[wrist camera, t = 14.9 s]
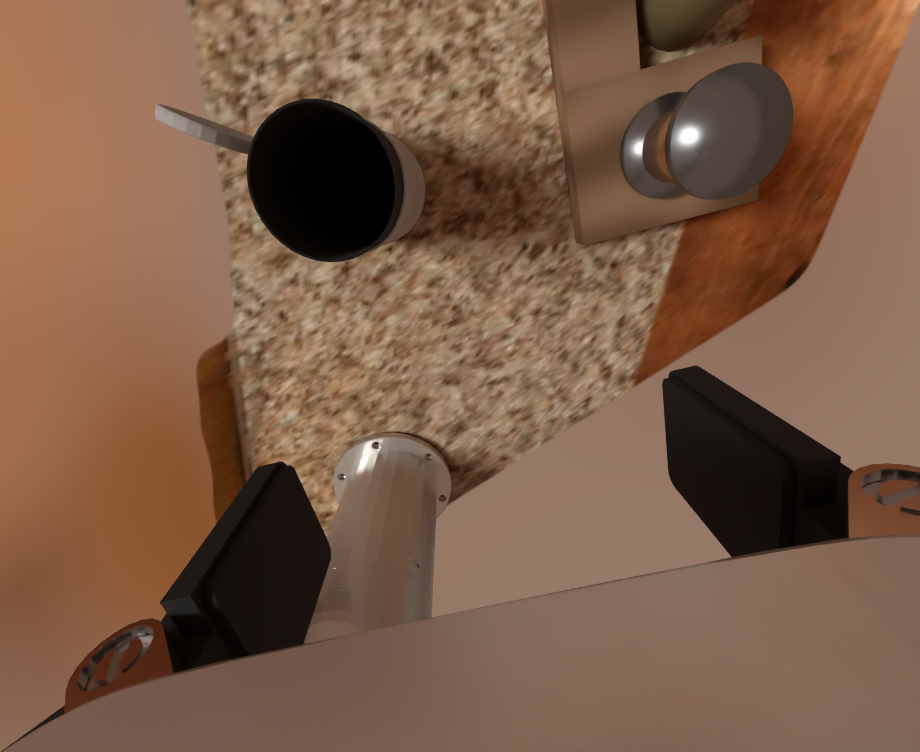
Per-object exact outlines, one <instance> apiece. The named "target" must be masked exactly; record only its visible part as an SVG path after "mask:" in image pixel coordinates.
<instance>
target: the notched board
mask: <svg viewBox="0 0 920 752" xmlns="http://www.w3.org/2000/svg"><path fill="white" fill-rule="evenodd" d="M542 2H543V10H544V17H545V24H546V31H547V38H548V45H549V53H550V60H551V67H552V74H553V81H554V89H555V96H556V103H557V110H558V117H559V124H560V132H561V139H562V146H563V153H564V160H565V168H566V175H567V182H568V189H569V196H570V203H571V211H572V218H573V225H574V232H575V239H576V243H579V244H582V245H588V244H592V243H596V242H600V241H604V240H607V239H611V238H615V237H619V236H623V235H627V234H630V233H634V232H638V231H642V230H646V229H650V228H653V227H657V226H661V225H665V224H669V223H673V222H676V221H680V220H684V219H688V218H692V217H696V216H699V215H703V214H707V213H711V212H715V211H719V210H722V209H726V208H730V207H734V206H738V205H742V204H745V203H749V202H753V201H757V200H759V184H757V185H756V186H755V187H753V188H752V189H750V190H749V191H747V192H745V193H743V194H741V195H738V196H735V197H732V198H728V199H720V200H708V199H700V198H696V197H693V196H691V195H689V194H687V193H686V192H685V193H683V194H681V195H679V196H676V197H672V198H665V199H656V198H649V197H645V196H643V195H641V194H639V193H637V192H636V191H635V190H634V189H632V188H631V186H630V185H629V184H628V183H627V181H626V179H625V177H624V175H623V172H622V169H621V164H620V147H621V142H622V139H623V136H624V133H625V131H626V128H627V126H628V125H629V123H630V121H631V120H632V118H633V117H634V116H635V114H636V113H637V112H638V111H639V110H640V109H641V108H642V107H644V106H645V105H646V104H648V103H649V102H650V101H652V100H654V99H656V98H658V97H660V96H663V95H665V94H668V93H673V92H687V91H688V90H689V89H690V88H691V87H692V86H693V85H694V84H696V83H697V82H698V81H699V80H701V79H702V78H704V77H705V76H706V75H708V74H710V73H712V72H714V71H716V70H718V69H721V68H723V67H725V66H728V65H731V64H736V63H742V62H751V63H758V64H761V65H762V40H763V34H762V35H758V36H755V37H751V38H748V39H744V40H741V41H738V42H734V43H731V44H727V45H724V46H720V47H717V48H713V49H710V50H706V51H703V52H700V53H696V54H693V55H689V56H686V57H682V58H679V59H675V60H672V61H668V62H665V63H661V64H658V65H655V66H651V67H648V68H644V69H641V70H640V58H639V43H638V29H637V15H636V1H635V0H542Z"/></svg>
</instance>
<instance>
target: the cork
mask: <svg viewBox="0 0 920 752" xmlns="http://www.w3.org/2000/svg"><path fill="white" fill-rule="evenodd" d="M737 1H738V0H636V15H637V24H638V28H639V31H640V33H641V34H642V36H643V37H644V39H645V40H646V42H647V43H648V44H650V45H651V46H653V47H654V48H656V49H657V50H662V51H667V52H671V51H676V50H681V49H684V48H685V47H687V46H689V45H690V44H692V43H694V42H695V41H696V40H697V39H698V38H699V37H700V36H701V35H702V34H704V33H705V32H706V31H707V30H708V29H709V28H710V27H711V26H712V25H713V24H714V23H715V22H716V21H717V20H718V19H719V18H720V17H721V16H722V15H723V14H724V13H725V12H726V11H728V10H729V9H730V8H731V7H732V6H733V5H734V4H735V3H736V2H737Z"/></svg>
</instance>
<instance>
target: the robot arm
mask: <svg viewBox="0 0 920 752" xmlns="http://www.w3.org/2000/svg"><path fill="white" fill-rule="evenodd" d="M662 387H663V402H664V416H665V430H666V445H667V459H668V471H669V476H670V479H671V481H672V483H673V485H674V486H675V488H676V489H677V490H678V492H679V493H680V494H681V495H682V496H683V498H684V499H685V500H686V501H687V503H688V504H689V505H690V506H691V507H692V509H693V510H694V511H695V512H696V514H697V515H698V516H699V517H700V519H701V520H702V521H703V522H704V523H705V525H706V526H707V527H708V528H709V530H710V531H711V532H712V533H713V534H714V536H715V537H716V538H717V539H718V541H719V542H720V543H721V544H722V546H723V547H724V548H725V549H726V551H727V552H728V553H729V554H730V556H731V558H726V559H721V560H716V561H711V562H706V563H701V564H696V565H691V566H686V567H681V568H676V569H671V570H666V571H661V572H655V573H650V574H645V575H640V576H635V577H630V578H625V579H620V580H616V581H610V582H605V583H600V584H596V585H590V586H585V587H580V588H575V589H570V590H565V591H560V592H555V593H550V594H546V595H540V596H536V597H530V598H525V599H520V600H515V601H510V602H505V603H500V604H495V605H491V606H486V607H481V608H476V609H471V610H467V611H461V612H457V613H452V614H447V615H442V616H437V617H432V595H433V594H432V593H433V572H434V548H435V547H434V546H435V523H436V518H437V517H438V516H439V515H440V514H441V513H442V512H443V511H444V509H445V507H446V506H447V504H448V502H449V498H450V495H451V474H450V471H449V467H448V465H447V463H446V461H445V460H444V458H443V457H442V455H441V454H440V453H439V452H438V451H437V450H436V449H435V448H434V447H432V446H431V445H430V444H428V443H427V442H425V441H423V440H421V439H419V438H417V437H414V436H410V435H407V434H401V433H380V434H375V435H371V436H368V437H366V438H363V439H361V440H359V441H358V442H356V443H355V444H353V445H352V446H351V447H350V448H349V449H348V450H346V451H345V453H344V454H343V456H342V457H341V459H340V460H339V463H338V465H337V467H336V470H335V473H334V491H335V496H336V498H337V500H338V502H339V506H338V509H337V512H336V515H335V517H334V520H333V523H332V526H331V529H330V531H329V534H328V537H327V538H326V536H325V534H324V531H323V529H322V527H321V525H320V523H319V521H318V519H317V516H316V514H315V512H314V510H313V508H312V506H311V503H310V501H309V499H308V497H307V495H306V493H305V491H304V488H303V486H302V484H301V482H300V480H299V478H298V475H297V473H296V471H295V469H294V468H293V467H292V466H290V465H289V466H287V465H286V464H285V463H284V462H277V463H273V464H268V465H264V466H260V467H258V468H257V469H256V470H255V471H254V473H253V474H252V476H251V477H250V478H249V480H248V481H247V482H246V484H245V485H244V487H243V488H242V489H241V491H240V492H239V494H238V495H237V496H236V498H235V499H234V500H233V502H232V503H231V505H230V506H229V507H228V509H227V510H226V512H225V513H224V514H223V516H222V517H221V519H220V520H219V521H218V523H217V524H216V525H215V527H214V528H213V530H212V531H211V532H210V534H209V535H208V537H207V538H206V539H205V541H204V542H203V543H202V545H201V546H200V548H199V549H198V550H197V552H196V553H195V555H194V556H193V558H192V559H191V560H190V562H189V563H188V564H187V566H186V567H185V569H184V570H183V571H182V573H181V574H180V575H179V577H178V578H177V580H176V581H175V582H174V584H173V585H172V586H171V588H170V590H169V591H168V592H167V593H166V595H165V596H164V598H163V599H162V600H161V602H160V604H161V605H162V606H163V608H164V609H165V610H166V612H167V613H166V615H165V616H164V618H163V619H162V621H161V622H160V621H159V620H157V619H153V618H149V619H142V620H139V621H137V622H134V623H131V624H128V625H127V626H125V627H123V628H121V629H120V630H118V631H116V632H114V633H113V634H112V635H110V636H109V637H107V638H106V639H105V640H103V641H102V642H101V643H99V644H98V645H97V646H96V647H95V648H94V649H93V650H92V651H91V652H90V653H88V654H87V656H86V657H85V658H84V659H83V660H82V661H81V662H80V664H79V665H78V666H77V667H76V669H75V670H74V672H73V674H72V676H71V677H70V678H69V681H68V684H67V687H66V692H65V705H64V706H63V707H62V708H60V709H59V710H58V711H56V712H55V713H54V714H52V715H51V716H49V717H48V718H47V719H45V720H44V721H43V722H41V723H40V724H38V725H37V726H36V727H34V728H33V729H32V730H30V731H29V732H28V733H26V734H25V735H23V736H22V737H21V738H19V739H18V740H17V741H15V742H14V743H12V744H11V745H10V746H8V747H7V748H6V749H4V750H3V751H2V752H920V467H915V466H910V465H901V464H873V465H869V466H865V467H861V468H858V469H857V470H856V471H852V470H851V469H849V468H848V467H846V466H845V465H843V464H842V463H840V460H841V457H840V456H839V455H837V454H836V453H834V452H832V451H831V450H829V449H828V448H826V447H825V446H823V445H822V444H820V443H818V442H817V441H815V440H814V439H812V438H811V437H809V436H807V435H806V434H804V433H803V432H801V431H800V430H798V429H796V428H795V427H793V426H792V425H790V424H789V423H787V422H785V421H784V420H782V419H781V418H779V417H778V416H776V415H774V414H773V413H771V412H770V411H768V410H767V409H765V408H763V407H762V406H760V405H759V404H757V403H755V402H754V401H752V400H751V399H749V398H748V397H746V396H744V395H743V394H741V393H740V392H738V391H737V390H735V389H733V388H732V387H730V386H729V385H727V384H726V383H724V382H722V381H721V380H719V379H718V378H716V377H715V376H713V375H711V374H710V373H708V372H707V371H705V370H704V369H702V368H700V367H698V366H692V367H688V368H683V369H679V370H674V371H671V372H670V373H669V378H666V379H664V380H663V384H662Z"/></svg>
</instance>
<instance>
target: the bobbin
mask: <svg viewBox="0 0 920 752" xmlns="http://www.w3.org/2000/svg"><path fill="white" fill-rule="evenodd" d="M792 123H793V106H792V100H791V96H790V93H789V90H788V88H787V86H786V84H785V83H784V81H783V80H782V78H781V77H780V76H779V75H778V74H777V73H776V72H774V71H773V70H772V69H770V68H768V67H766V66H764V65H761V64H758V63H751V62H742V63H736V64H731V65H728V66H725V67H723V68H721V69H718V70H716V71H714V72H712V73H710V74H708V75H706V76H705V77H704V78H702V79H701V80H699V81H698V82H697V83H696V84H694V85H693V86H692V87H691V88H690V89H689V90H688V91H687V92H673V93H668V94H665V95H663V96H660V97H658V98H656V99H654V100H652V101H650V102H649V103H648V104H646V105H645V106H644V107H642V108H641V109H640V110H639V111H638V112H637V113H636V114H635V116H634V117H633V118H632V120H631V121H630V123H629V125H628V126H627V128H626V131H625V133H624V136H623V139H622V142H621V147H620V164H621V169H622V172H623V175H624V177H625V179H626V181H627V183H628V184H629V185H630V186H631V188H632V189H634V190H635V191H636V192H637V193H639V194H641V195H643V196H645V197H649V198H656V199H665V198H672V197H676V196H679V195H681V194H683V193H685V192H686V193H687V194H689V195H691V196H693V197H696V198H700V199H708V200H720V199H728V198H732V197H735V196H738V195H741V194H743V193H745V192H747V191H749V190H750V189H752V188H753V187H755V186H756V185H757V184H759V183H760V182H761V181H762V180H763V179H764V178H765V177H766V176H767V175H768V174H769V173H770V172H771V171H772V170H773V168H774V167H775V166H776V164H777V163H778V161H779V160H780V158H781V156H782V155H783V153H784V150H785V148H786V146H787V144H788V141H789V138H790V134H791V129H792Z"/></svg>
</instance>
